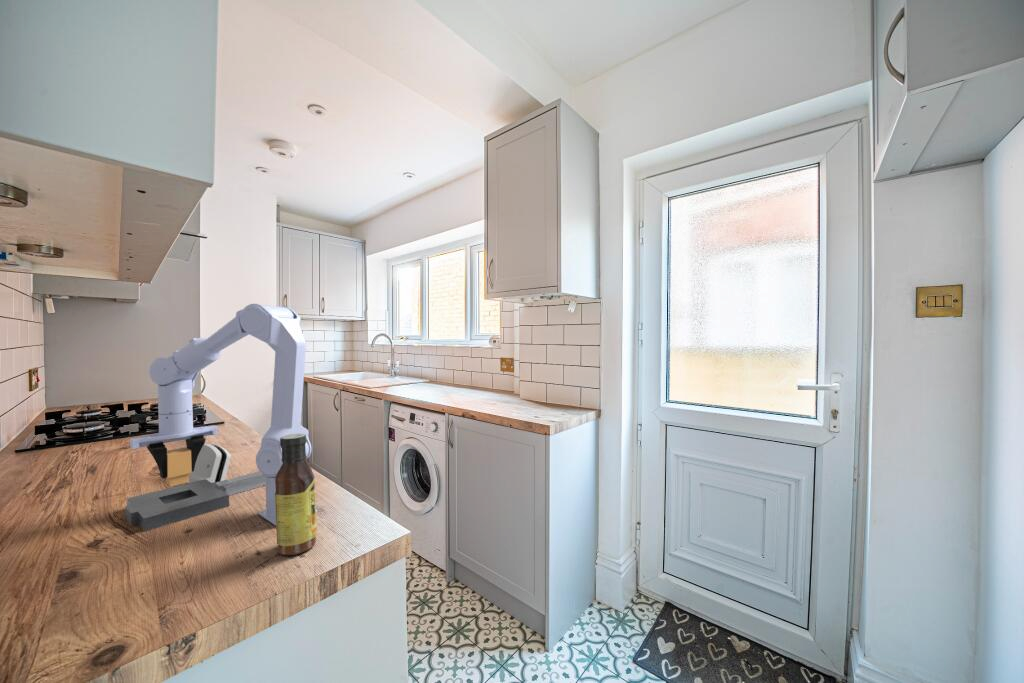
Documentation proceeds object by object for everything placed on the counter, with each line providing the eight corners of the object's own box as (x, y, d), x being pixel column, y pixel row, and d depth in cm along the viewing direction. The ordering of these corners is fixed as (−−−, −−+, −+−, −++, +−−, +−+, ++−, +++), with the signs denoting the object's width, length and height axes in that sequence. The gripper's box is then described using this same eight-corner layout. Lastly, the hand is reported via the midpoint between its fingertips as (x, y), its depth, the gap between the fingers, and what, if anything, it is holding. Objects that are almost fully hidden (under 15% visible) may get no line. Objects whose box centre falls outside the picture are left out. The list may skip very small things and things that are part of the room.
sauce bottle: (321, 547, 70) (319, 436, 69) (282, 562, 66) (279, 443, 65) (310, 534, 75) (307, 429, 74) (272, 546, 70) (269, 435, 70)
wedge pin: (191, 481, 87) (191, 450, 87) (168, 487, 84) (167, 454, 84) (186, 478, 89) (185, 447, 89) (163, 483, 86) (162, 451, 86)
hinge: (170, 477, 105) (184, 439, 108) (190, 478, 109) (204, 441, 112) (202, 489, 97) (216, 447, 100) (222, 489, 101) (236, 449, 104)
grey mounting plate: (286, 488, 97) (286, 476, 97) (137, 533, 76) (136, 518, 76) (260, 474, 107) (259, 463, 107) (120, 511, 85) (120, 497, 85)
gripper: (210, 405, 95) (211, 461, 95) (126, 415, 83) (128, 479, 83) (220, 408, 90) (221, 467, 91) (133, 419, 79) (135, 487, 79)
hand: (177, 473), depth 87 cm, fingers closed on wedge pin, 4 cm apart
